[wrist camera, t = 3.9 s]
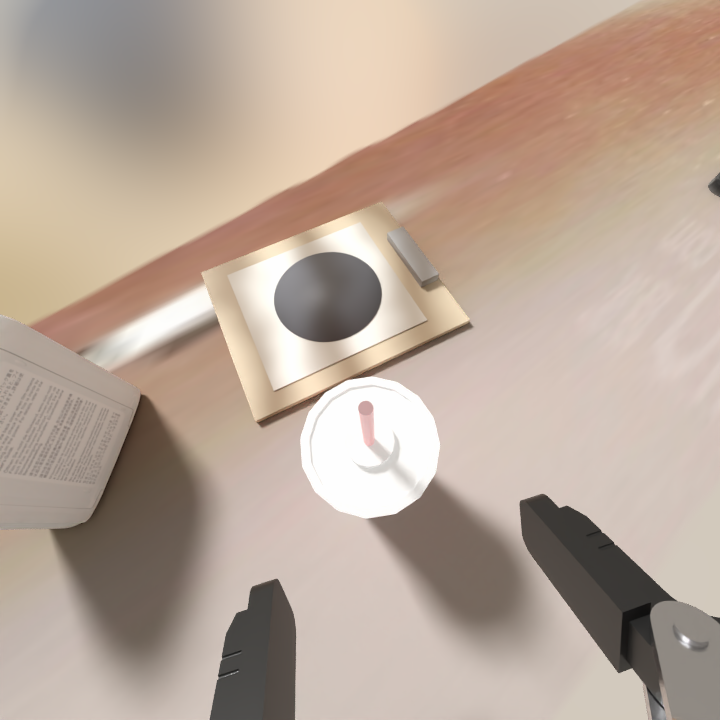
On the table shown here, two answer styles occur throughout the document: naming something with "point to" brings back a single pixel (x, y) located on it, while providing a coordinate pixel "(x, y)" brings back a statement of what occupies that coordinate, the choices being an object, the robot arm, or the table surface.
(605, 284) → the table surface
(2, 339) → the photo printer
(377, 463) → the beverage cup
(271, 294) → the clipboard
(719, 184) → the phone
